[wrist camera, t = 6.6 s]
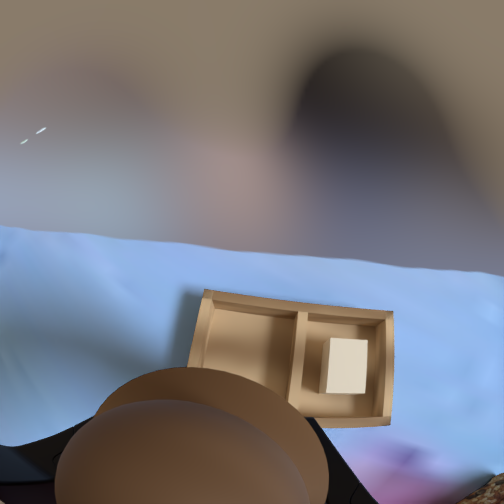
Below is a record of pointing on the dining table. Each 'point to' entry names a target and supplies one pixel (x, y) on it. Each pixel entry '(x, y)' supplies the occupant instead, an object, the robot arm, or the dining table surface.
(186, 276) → the dining table surface
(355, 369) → the block
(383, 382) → the caddy
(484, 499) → the bread
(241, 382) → the pepper mill
